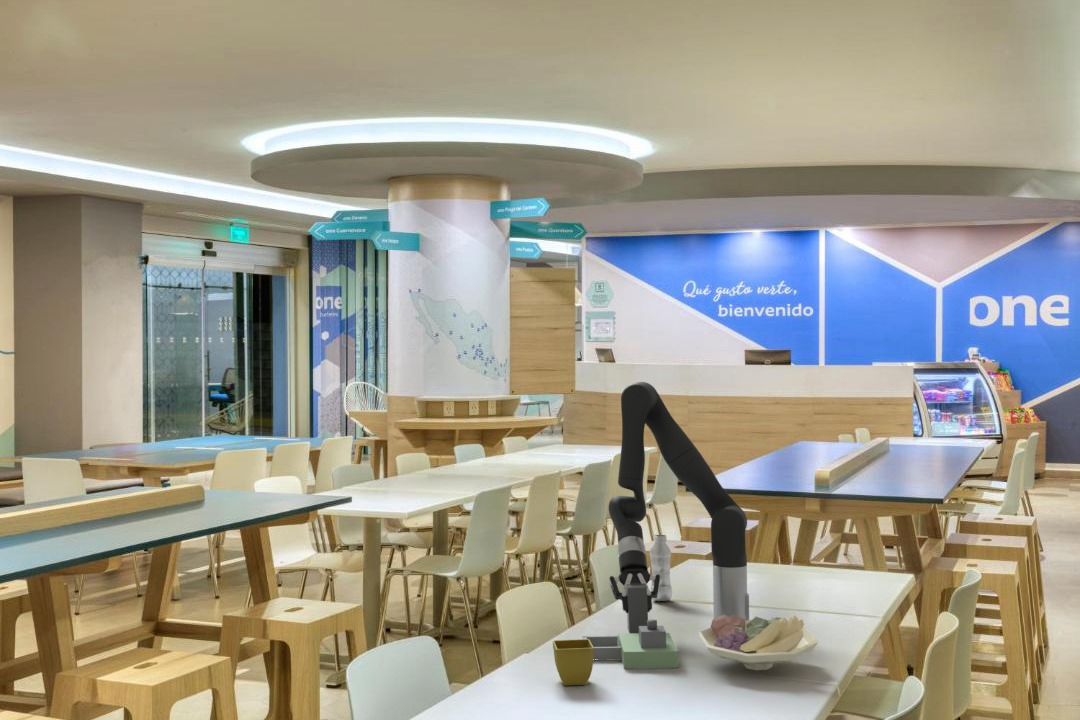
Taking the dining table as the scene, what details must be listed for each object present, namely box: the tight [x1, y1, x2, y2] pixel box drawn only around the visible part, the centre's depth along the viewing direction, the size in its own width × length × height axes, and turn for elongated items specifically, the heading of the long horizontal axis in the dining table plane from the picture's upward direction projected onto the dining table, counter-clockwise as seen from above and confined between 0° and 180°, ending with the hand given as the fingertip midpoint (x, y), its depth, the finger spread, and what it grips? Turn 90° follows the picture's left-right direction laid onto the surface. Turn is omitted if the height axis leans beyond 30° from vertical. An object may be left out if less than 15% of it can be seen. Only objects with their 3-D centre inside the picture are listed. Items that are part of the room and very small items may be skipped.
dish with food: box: [698, 615, 819, 671], centre depth 270 cm, size 28×28×14 cm
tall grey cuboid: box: [626, 583, 649, 633], centre depth 297 cm, size 5×6×12 cm
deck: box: [582, 618, 679, 669], centre depth 280 cm, size 22×20×10 cm
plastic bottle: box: [649, 534, 673, 602], centre depth 344 cm, size 6×7×20 cm
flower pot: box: [552, 638, 594, 687], centre depth 259 cm, size 9×9×9 cm
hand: (637, 610), depth 296 cm, fingers closed on tall grey cuboid, 5 cm apart
